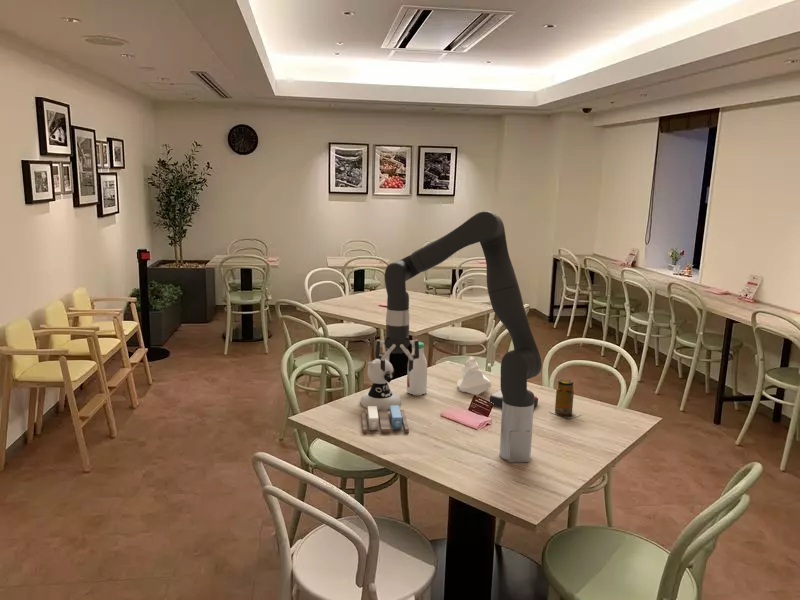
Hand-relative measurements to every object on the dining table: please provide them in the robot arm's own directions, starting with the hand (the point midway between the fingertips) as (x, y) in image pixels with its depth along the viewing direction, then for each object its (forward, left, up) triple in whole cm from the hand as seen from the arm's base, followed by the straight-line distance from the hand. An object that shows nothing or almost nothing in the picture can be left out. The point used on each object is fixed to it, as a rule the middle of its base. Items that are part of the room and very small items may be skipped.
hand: (396, 370), depth 203 cm
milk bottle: (+35, -11, -20) cm, 41 cm away
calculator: (+21, -46, -20) cm, 54 cm away
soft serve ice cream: (+38, -34, -20) cm, 55 cm away
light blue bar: (+1, 0, -18) cm, 18 cm away
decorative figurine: (+20, +4, -20) cm, 28 cm away
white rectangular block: (0, +8, -18) cm, 20 cm away
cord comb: (0, +4, -20) cm, 20 cm away
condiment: (+11, -62, -20) cm, 66 cm away
